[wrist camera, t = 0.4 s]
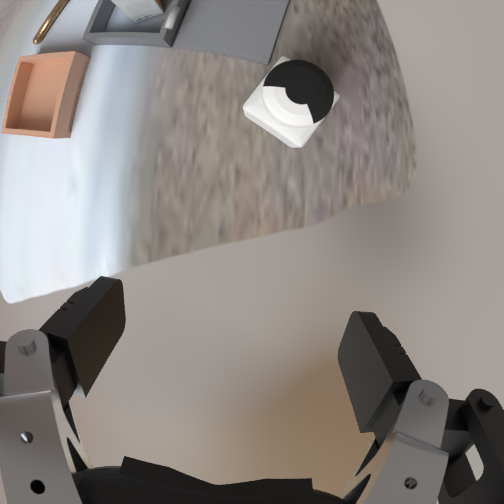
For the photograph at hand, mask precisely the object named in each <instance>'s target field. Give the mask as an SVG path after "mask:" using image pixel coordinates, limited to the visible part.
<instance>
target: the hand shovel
mask: <svg viewBox="0 0 504 504" xmlns="http://www.w3.org/2000/svg"><path fill="white" fill-rule="evenodd" d="M68 1H69V0H59V1H58V3H57V4H56V5H55V7H54V8H53V10H52V11H51V12H50V14H49V15H48V17H47V18H46V20H45V21H44V23H43V24H42V26H41V27H40V29H39V31H38V32H37V34H36V35H35V37H34V39H33V43H34V44H35V45H36V44H39V43H40V42H41V41H42V39H43V37H44V36H45V34H46V33H47V31H48V29H49V28H50V26H51V25H52V23H53V22H54V20H55V19H56V17H57V16H58V15H59V13H60V12H61V10H62V9H63V8H64V6H65V5H66V4H67V2H68Z"/></svg>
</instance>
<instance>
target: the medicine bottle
mask: <svg viewBox="0 0 504 504" xmlns="http://www.w3.org/2000/svg"><path fill="white" fill-rule="evenodd" d="M339 97H340V96H339V94H338V93H337V92H335V91H334V90H333V86H332V83H331V81H330V79H329V77H328V76H327V75H326V73H325V72H324V71H323V70H322V69H320V68H319V67H318V66H316V65H314V64H312V63H310V62H307V61H302V60H290V59H289V58H287V57H285V56H282V57H281V58H280V59H279V60H278V61H277V62H276V64H275V65H274V66H273V67H272V69H271V70H270V71H269V72H268V74H267V75H266V76H265V77H264V79H263V80H262V81H261V83H260V84H259V85H258V86H257V88H256V89H255V90H254V92H253V93H252V94H251V96H250V97H249V98H248V100H247V101H246V102H245V104H244V105H243V110H244V114H245V116H246V117H247V118H249V119H250V120H252V121H253V122H255V123H256V124H258V125H259V126H261V127H262V128H264V129H265V130H267V131H268V132H270V133H271V134H273V135H274V136H276V137H277V138H278V139H280V140H281V141H283V142H284V143H285V144H287V145H288V146H290V147H303V146H304V145H305V143H306V142H307V140H308V139H309V138H310V136H311V135H312V134H313V132H314V131H315V130H316V128H317V127H318V126H319V124H320V123H321V122H322V120H323V119H324V118H325V116H326V115H327V114H328V113H329V111H330V110H331V108H332V107H333V106H334V104H335V103H336V102H337V100H338V99H339Z"/></svg>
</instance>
